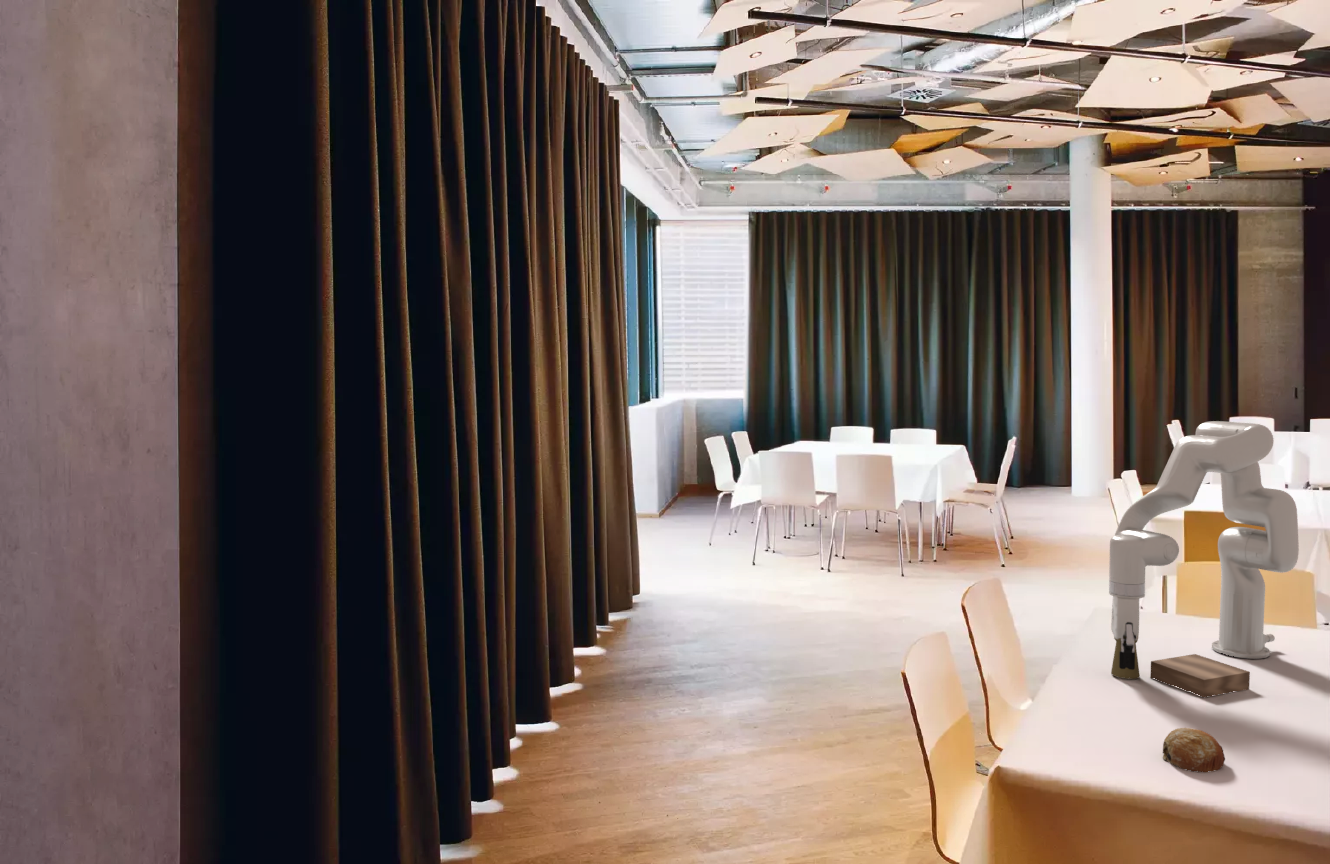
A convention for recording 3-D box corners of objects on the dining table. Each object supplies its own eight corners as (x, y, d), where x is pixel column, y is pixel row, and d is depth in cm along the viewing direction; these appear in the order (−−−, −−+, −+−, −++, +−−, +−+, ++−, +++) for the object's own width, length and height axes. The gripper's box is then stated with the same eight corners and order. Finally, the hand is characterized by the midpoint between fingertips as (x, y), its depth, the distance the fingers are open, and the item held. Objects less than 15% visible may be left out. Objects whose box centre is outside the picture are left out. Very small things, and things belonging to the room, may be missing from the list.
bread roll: (1159, 769, 182) (1143, 733, 181) (1206, 745, 182) (1190, 709, 181) (1192, 793, 172) (1175, 755, 171) (1242, 767, 172) (1225, 729, 171)
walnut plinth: (1194, 670, 227) (1195, 653, 227) (1249, 689, 214) (1249, 671, 214) (1150, 677, 222) (1150, 661, 222) (1203, 697, 209) (1204, 679, 209)
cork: (1133, 670, 226) (1134, 624, 225) (1143, 678, 220) (1144, 632, 219) (1107, 669, 227) (1107, 624, 226) (1116, 678, 221) (1117, 632, 220)
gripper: (1105, 579, 231) (1103, 653, 232) (1113, 596, 215) (1112, 675, 217) (1139, 581, 228) (1138, 655, 230) (1150, 598, 213) (1148, 678, 214)
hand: (1125, 664), depth 223 cm, fingers closed on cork, 4 cm apart
